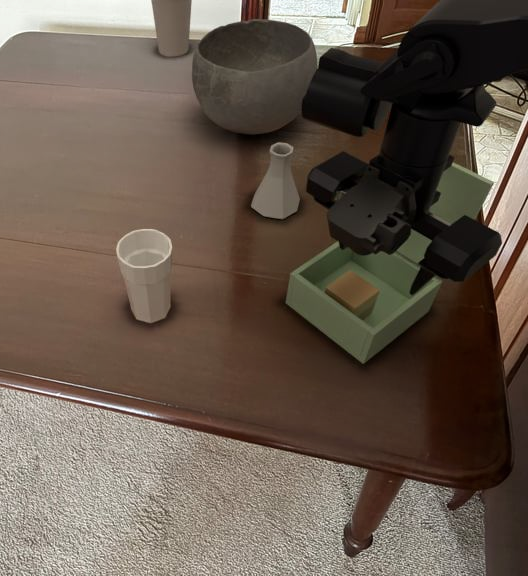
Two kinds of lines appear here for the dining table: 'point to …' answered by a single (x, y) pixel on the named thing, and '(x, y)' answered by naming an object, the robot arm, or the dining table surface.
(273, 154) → the flask
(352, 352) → the file box
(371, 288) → the block
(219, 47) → the bowl
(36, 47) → the dining table surface
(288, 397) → the dining table surface
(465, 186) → the lid
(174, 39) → the coffee cup
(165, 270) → the cup
